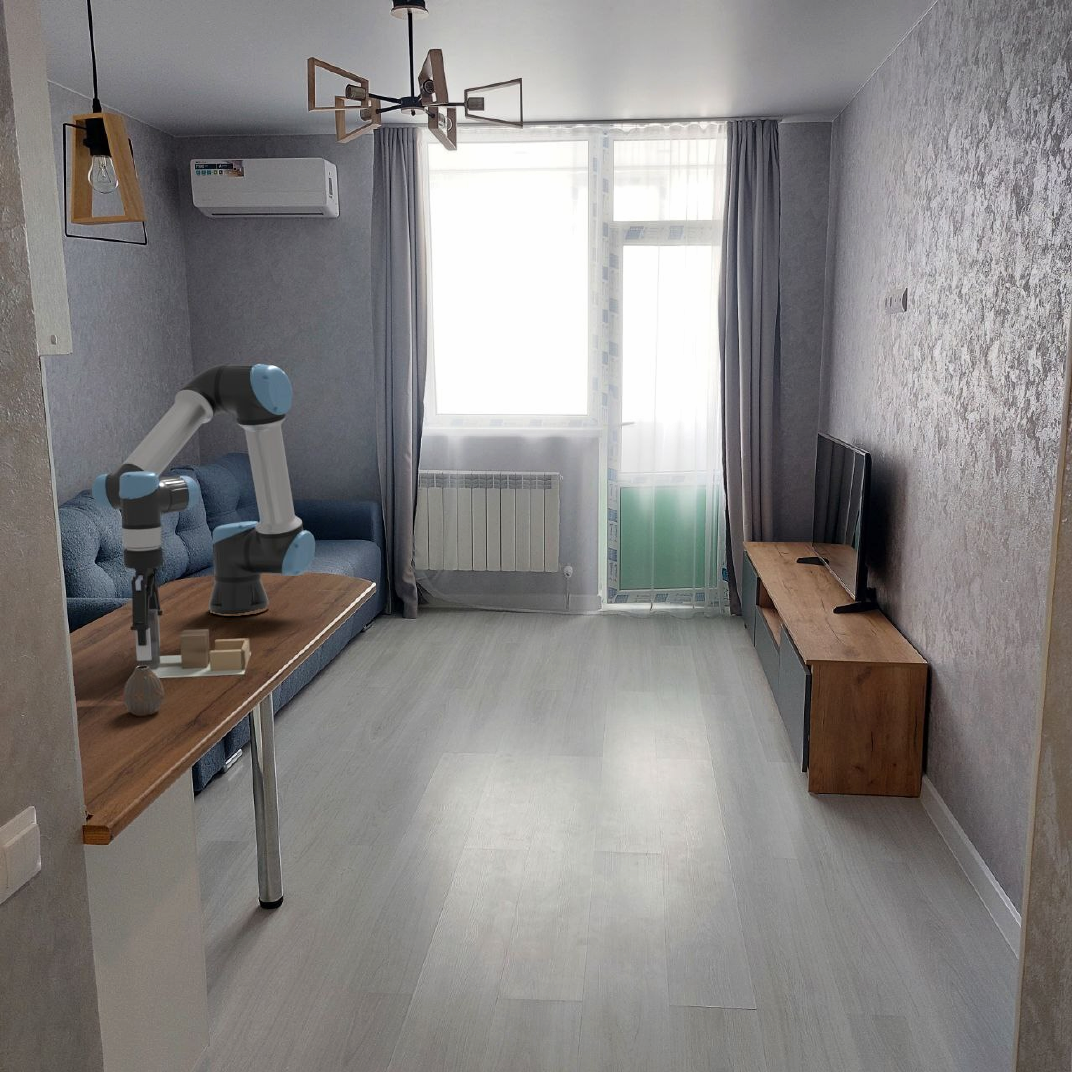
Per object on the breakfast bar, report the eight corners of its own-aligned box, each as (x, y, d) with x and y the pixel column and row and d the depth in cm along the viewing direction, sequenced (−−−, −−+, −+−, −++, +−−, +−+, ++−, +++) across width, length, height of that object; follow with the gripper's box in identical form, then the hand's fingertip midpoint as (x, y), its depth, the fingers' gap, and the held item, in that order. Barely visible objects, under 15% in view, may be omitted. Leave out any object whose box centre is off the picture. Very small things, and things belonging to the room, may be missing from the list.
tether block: (143, 663, 211) (140, 608, 209) (210, 660, 214) (207, 606, 212) (138, 670, 207) (135, 614, 205) (206, 667, 209) (204, 612, 207)
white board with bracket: (146, 661, 217) (145, 638, 216) (251, 656, 221) (250, 634, 220) (131, 683, 201) (129, 659, 200) (244, 678, 205) (243, 655, 204)
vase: (131, 706, 188) (128, 661, 187) (169, 705, 189) (166, 661, 187) (119, 719, 181) (116, 672, 180) (158, 718, 182) (156, 672, 180)
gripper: (134, 538, 215) (140, 639, 219) (111, 557, 194) (118, 669, 198) (171, 538, 216) (176, 638, 220) (152, 556, 195) (158, 667, 199)
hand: (148, 653), depth 209 cm, fingers open, 9 cm apart
